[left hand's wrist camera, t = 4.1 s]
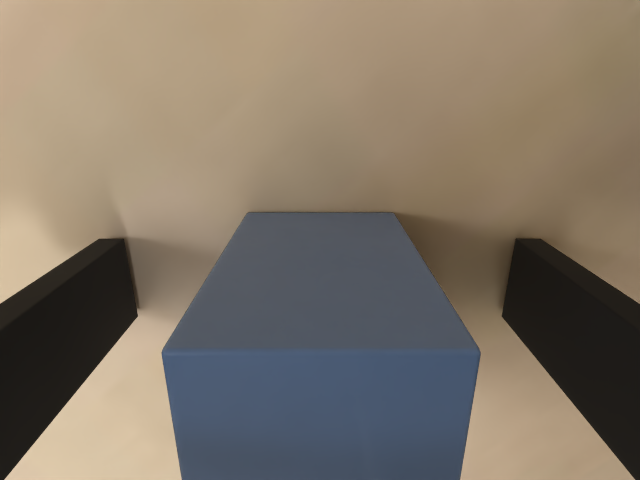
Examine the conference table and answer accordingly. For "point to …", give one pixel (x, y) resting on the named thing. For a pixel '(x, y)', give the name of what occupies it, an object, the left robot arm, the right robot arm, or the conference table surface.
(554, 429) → the conference table surface
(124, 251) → the left robot arm
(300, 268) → the block
